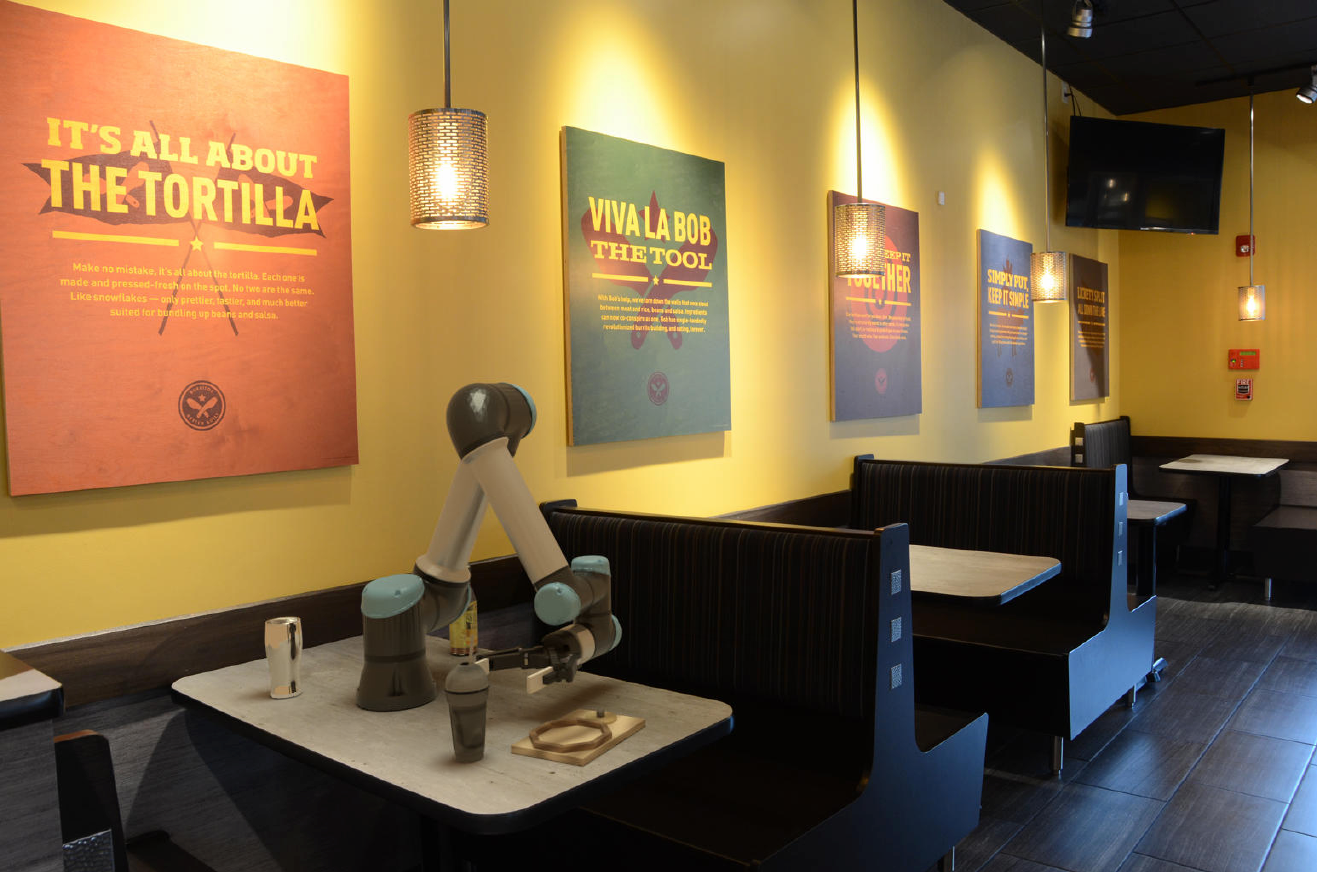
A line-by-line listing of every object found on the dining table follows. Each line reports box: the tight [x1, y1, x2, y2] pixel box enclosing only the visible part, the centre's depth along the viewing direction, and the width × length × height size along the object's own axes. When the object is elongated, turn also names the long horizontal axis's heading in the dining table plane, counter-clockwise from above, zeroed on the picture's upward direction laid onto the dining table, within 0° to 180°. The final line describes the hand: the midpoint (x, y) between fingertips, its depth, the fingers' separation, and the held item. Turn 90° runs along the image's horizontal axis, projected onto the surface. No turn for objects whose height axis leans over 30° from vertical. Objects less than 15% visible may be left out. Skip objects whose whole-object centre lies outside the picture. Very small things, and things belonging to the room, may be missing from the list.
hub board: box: [510, 708, 646, 767], centre depth 164 cm, size 14×20×3 cm
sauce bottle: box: [448, 565, 479, 654], centre depth 221 cm, size 6×6×20 cm
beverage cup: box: [443, 635, 490, 764], centre depth 157 cm, size 7×7×20 cm
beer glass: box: [264, 616, 303, 695], centre depth 193 cm, size 7×7×15 cm
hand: (495, 680), depth 162 cm, fingers open, 13 cm apart
